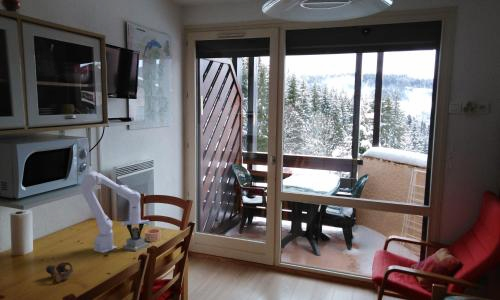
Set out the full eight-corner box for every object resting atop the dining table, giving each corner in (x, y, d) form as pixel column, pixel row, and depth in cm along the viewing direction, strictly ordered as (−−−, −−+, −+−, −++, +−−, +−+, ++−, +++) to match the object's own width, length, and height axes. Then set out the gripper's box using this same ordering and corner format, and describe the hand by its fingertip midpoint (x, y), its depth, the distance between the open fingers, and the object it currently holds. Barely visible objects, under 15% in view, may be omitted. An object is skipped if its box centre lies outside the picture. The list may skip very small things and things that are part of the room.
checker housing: (135, 251, 200) (135, 242, 200) (122, 248, 205) (122, 239, 205) (148, 245, 209) (148, 237, 209) (135, 242, 214) (135, 234, 213)
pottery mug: (75, 272, 176) (77, 261, 172) (68, 289, 168) (69, 277, 164) (48, 267, 173) (49, 256, 169) (40, 284, 165) (40, 273, 161)
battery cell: (135, 242, 204) (135, 229, 204) (130, 241, 206) (130, 227, 205) (140, 240, 208) (140, 227, 207) (135, 239, 209) (135, 226, 208)
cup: (153, 242, 214) (153, 234, 213) (142, 240, 218) (142, 232, 217) (163, 238, 221) (163, 230, 221) (152, 235, 225) (152, 227, 225)
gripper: (148, 210, 211) (148, 233, 212) (121, 212, 207) (122, 235, 208) (148, 214, 204) (149, 237, 206) (121, 216, 200) (121, 240, 201)
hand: (135, 237), depth 207 cm, fingers closed on battery cell, 4 cm apart
